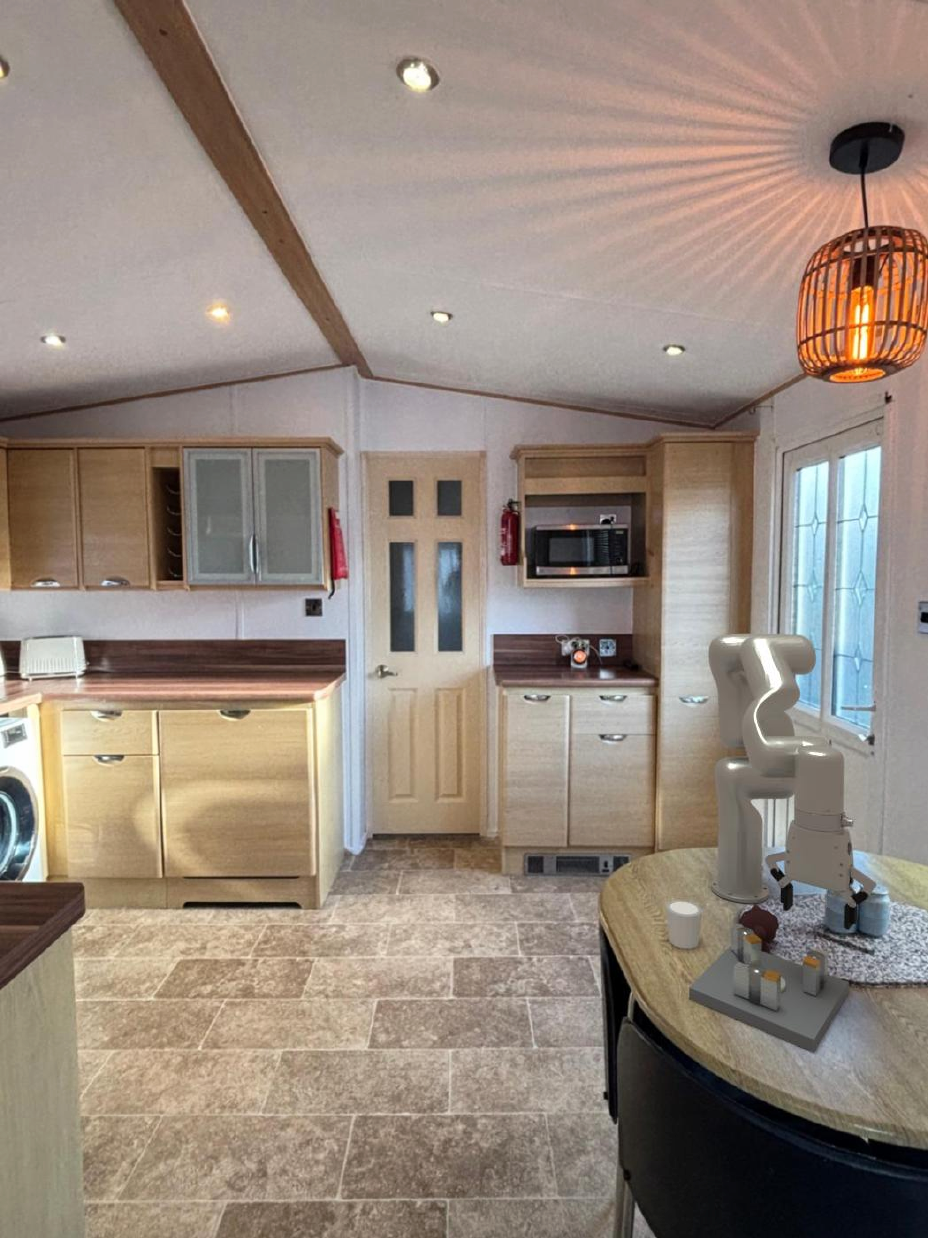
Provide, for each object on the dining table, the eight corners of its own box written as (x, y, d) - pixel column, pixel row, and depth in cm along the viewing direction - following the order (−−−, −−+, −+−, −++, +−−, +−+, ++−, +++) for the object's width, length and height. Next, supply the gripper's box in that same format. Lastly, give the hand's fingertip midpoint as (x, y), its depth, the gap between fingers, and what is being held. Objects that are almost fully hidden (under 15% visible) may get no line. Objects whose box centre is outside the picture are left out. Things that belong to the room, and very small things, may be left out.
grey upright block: (728, 948, 129) (728, 921, 129) (742, 947, 129) (742, 920, 129) (748, 969, 122) (749, 941, 122) (763, 968, 123) (763, 940, 122)
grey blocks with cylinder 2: (812, 972, 121) (813, 943, 121) (830, 978, 119) (830, 949, 119) (800, 990, 116) (800, 960, 116) (818, 996, 114) (818, 966, 114)
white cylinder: (704, 952, 132) (704, 917, 132) (667, 949, 134) (667, 914, 133) (699, 934, 139) (699, 901, 139) (664, 931, 140) (664, 898, 140)
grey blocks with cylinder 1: (732, 994, 115) (732, 964, 115) (738, 987, 117) (739, 957, 117) (775, 1012, 110) (775, 980, 110) (781, 1004, 112) (781, 973, 112)
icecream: (733, 891, 144) (737, 932, 130) (770, 887, 142) (778, 928, 127) (741, 921, 144) (746, 965, 130) (778, 918, 142) (788, 963, 128)
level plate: (734, 951, 132) (734, 935, 132) (848, 993, 119) (849, 975, 118) (689, 998, 118) (689, 980, 118) (813, 1052, 104) (813, 1031, 104)
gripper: (881, 825, 113) (880, 926, 113) (773, 803, 124) (772, 895, 125) (870, 837, 107) (869, 943, 108) (758, 813, 119) (758, 909, 120)
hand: (817, 917), depth 117 cm, fingers open, 9 cm apart
